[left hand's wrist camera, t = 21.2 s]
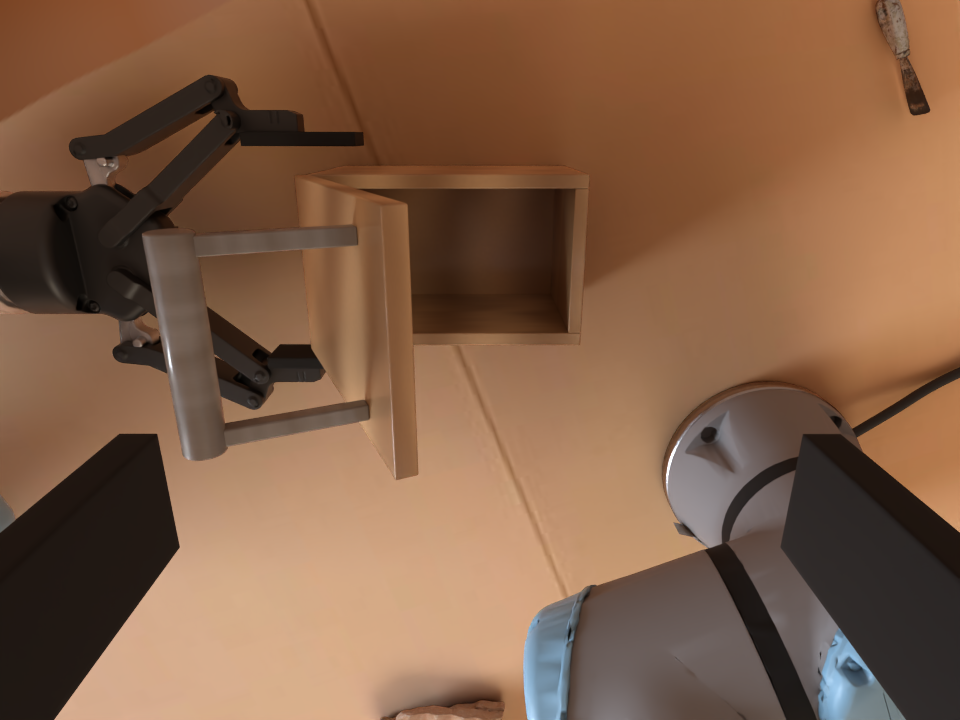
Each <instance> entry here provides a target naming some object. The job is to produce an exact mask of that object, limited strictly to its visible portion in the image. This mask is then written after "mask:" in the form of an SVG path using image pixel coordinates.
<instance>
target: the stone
mask: <svg viewBox="0 0 960 720" xmlns="http://www.w3.org/2000/svg"><path fill="white" fill-rule="evenodd" d="M504 709H505V704H504V702H491V701H486V700H480V701H478V702H476V703H473V704H467V703H466V704H456V705H454V706H452V707H450V708H446V707H441V706H436V705H432V706H426V707H417V708H414V709H412V710H403V711H401V712H400V713H399V714H398V715H397V717H395V718H388V717H381V720H502V717H503V712H504Z"/></svg>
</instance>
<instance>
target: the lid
mask: <svg viewBox="0 0 960 720" xmlns="http://www.w3.org/2000/svg"><path fill="white" fill-rule="evenodd" d="M294 179H295V189H296V199H297V209H298V219H299V227H296V228H279V229H262V230H244V231H227V232H210V233H195V231H194V230H192V229H185V228H171V229H158V230H151V231H146V232H144V233H142V239H143V245H144V250H145V255H146V261H147V266H148V271H149V277H150V282H151V288H152V293H153V298H154V304H155V309H156V314H157V320H158V325H159V331H160V336H161V341H162V347H163V352H164V357H165V363H166V368H167V374H168V379H169V384H170V390H171V395H172V400H173V406H174V411H175V416H176V422H177V427H178V433H179V438H180V443H181V449H182V454H183V456H184V457H185V458H186V459H188V460H192V461H202V460H208V459H212V458H215V457H218V456H220V455H222V454H223V453H225V452H226V451H227V449H228V446H234V445H239V444H244V443H250V442H255V441H260V440H266V439H271V438H276V437H282V436H287V435H292V434H298V433H303V432H308V431H314V430H319V429H324V428H330V427H335V426H340V425H346V424H351V423H356V422H359V423H360V425H361V427H362V428H363V430H364V431H365V433H366V434H367V436H368V438H369V439H370V441H371V442H372V444H373V445H374V447H375V448H376V450H377V452H378V453H379V455H380V456H381V458H382V459H383V461H384V462H385V464H386V466H387V467H388V469H389V470H390V472H391V473H392V475H393V476H394V478H395V479H396V480H399V479H403V478H407V477H412V476H416V475H418V453H417V428H416V403H415V377H414V352H413V327H412V301H411V276H410V250H409V225H408V205H407V204H406V203H403V202H400V201H396V200H393V199H390V198H386V197H383V196H379V195H376V194H373V193H369V192H366V191H363V190H359V189H356V188H352V187H349V186H346V185H342V184H339V183H335V182H332V181H329V180H325V179H322V178H318V177H315V176H312V175H295V176H294ZM291 250H302V260H303V270H304V280H305V290H306V300H307V310H308V320H309V330H310V340H311V349H312V350H313V352H314V353H315V355H316V357H317V358H318V360H319V361H320V363H321V364H322V366H323V367H324V369H325V371H326V372H327V374H328V375H329V377H330V378H331V380H332V381H333V383H334V385H335V386H336V388H337V389H338V391H339V392H340V394H341V395H342V397H343V399H344V400H345V402H346V403H340V404H334V405H328V406H323V407H317V408H311V409H305V410H300V411H294V412H288V413H282V414H276V415H271V416H265V417H259V418H253V419H248V420H242V421H236V422H230V423H225V420H224V414H223V408H222V401H221V395H220V388H219V382H218V376H217V369H216V363H215V357H214V350H213V344H212V337H211V331H210V325H209V318H208V312H207V305H206V299H205V293H204V286H203V280H202V274H201V267H200V261H199V257H208V256H222V255H236V254H250V253H263V252H277V251H291Z"/></svg>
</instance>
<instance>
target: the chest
mask: <svg viewBox="0 0 960 720" xmlns="http://www.w3.org/2000/svg"><path fill="white" fill-rule="evenodd" d="M307 175H312V176H315V177H318V178H322V179H325V180H329V181H332V182H335V183H339V184H342V185H346V186H349V187H352V188H356V189H359V190H363V191H366V192H369V193H373V194H376V195H379V196H383V197H386V198H390V199H393V200H396V201H400V202H403V203H406V204H407V205H408V225H409V250H410V276H411V301H412V327H413V345H580V336H581V334H580V332H581V320H582V302H583V285H584V268H585V251H586V234H587V216H588V199H589V189H588V188H589V180H590V175H589V174H586V173H583V172H580V171H578V170H575V169H572V168H569V167H567V166H342V167H337V168H333V169H329V170H324V171H320V172H316V173H311V174H307Z"/></svg>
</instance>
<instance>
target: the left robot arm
mask: <svg viewBox="0 0 960 720" xmlns="http://www.w3.org/2000/svg"><path fill="white" fill-rule="evenodd" d="M958 378H960V367H959V368H957V369H955V370H953V371H951V372H948V373H946V374H944V375H942V376H940V377H938V378H936V379H935V380H933V381H931V382H929V383H927V384H925V385H924V386H922V387H920V388H919V389H917V390H915V391H914V392H912V393H911V394H909V395H907V396H906V397H904V398H903V399H901V400H900V401H898V402H897V403H895V404H893V405H892V406H890V407H888V408H887V409H885V410H883V411H882V412H880V413H878V414H877V415H875V416H873V417H872V418H870V419H868V420H867V421H865V422H863V423H861V424H860V425H858V426H856V427H855V428H853V429H852V428H851V427H850V425H849V424H848V423H847V421H846V420H845V419H844V417H843V416H842V415H841V414H840V413H839V412H838V411H837V410H836V409H835V408H834V407H833V406H832V405H830V404H829V403H828V402H826V401H825V400H824V399H823V398H821V397H820V396H818V395H817V394H815V393H814V392H812V391H810V390H808V389H805V388H803V387H800V386H797V385H794V384H789V383H784V382H772V381H766V382H754V383H748V384H744V385H740V386H736V387H733V388H730V389H728V390H725V391H723V392H721V393H719V394H717V395H715V396H713V397H711V398H710V399H708V400H707V401H705V402H704V403H702V404H701V405H700V406H698V407H697V408H696V409H695V410H694V411H693V412H691V413H690V414H689V415H688V416H687V418H686V419H685V420H684V421H683V422H682V423H681V425H680V426H679V427H678V429H677V430H676V432H675V433H674V435H673V437H672V439H671V441H670V443H669V445H668V448H667V450H666V453H665V457H664V462H663V469H662V480H663V487H664V492H665V495H666V498H667V500H668V503H669V505H670V507H671V509H672V511H673V513H674V514H675V516H676V518H677V519H678V521H679V522H680V523H681V524H678V523H674V524H675V526H676V528H677V530H678V532H679V534H682V535H686V536H691V537H693V538H695V539H696V540H697V541H698V542H700V543H701V544H703V545H704V546H706V547H707V548H708V549H704V550H701V551H698V552H695V553H692V554H689V555H686V556H683V557H681V558H678V559H675V560H672V561H669V562H666V563H663V564H661V565H658V566H655V567H652V568H649V569H646V570H643V571H640V572H638V573H635V574H632V575H629V576H626V577H622V578H619V579H616V580H613V581H610V582H607V583H604V584H601V585H598V586H597V585H590V586H587V587H585V588H584V589H583V590H582V591H581V592H579V593H577V594H575V595H572V596H570V597H568V598H565V599H563V600H561V601H558V602H555V603H553V604H550V605H548V606H546V607H544V608H543V609H542V610H541V611H539V612H538V613H537V615H536V616H535V617H534V619H533V620H532V623H531V625H530V627H529V630H528V634H527V639H526V641H525V649H524V665H523V673H524V694H525V704H526V712H527V720H960V533H959V532H958V531H957V530H956V529H955V528H953V527H952V526H951V525H950V524H949V523H947V522H946V521H945V520H944V519H943V518H941V517H940V516H939V515H938V514H937V513H935V512H934V511H933V510H932V509H931V508H929V507H928V506H927V505H926V504H925V503H923V502H922V501H921V500H920V499H918V498H917V497H916V496H915V495H914V494H912V493H911V492H910V491H909V490H908V489H906V488H905V487H904V486H903V485H902V484H900V483H899V482H898V481H897V480H896V479H894V478H893V477H892V476H891V475H890V474H888V473H887V472H886V471H885V470H883V469H882V468H881V467H880V466H879V465H877V464H876V463H875V462H874V461H873V460H871V459H870V458H869V457H868V456H867V455H865V454H864V453H863V451H862V449H861V447H860V444H859V442H858V440H857V437H858V436H860V435H862V434H864V433H865V432H867V431H869V430H870V429H872V428H874V427H875V426H877V425H879V424H881V423H882V422H884V421H886V420H887V419H889V418H891V417H892V416H894V415H896V414H897V413H899V412H901V411H902V410H904V409H905V408H907V407H908V406H910V405H912V404H913V403H915V402H916V401H918V400H919V399H921V398H922V397H924V396H926V395H927V394H929V393H931V392H933V391H934V390H936V389H938V388H940V387H942V386H944V385H946V384H948V383H950V382H952V381H954V380H956V379H958ZM179 548H180V546H179V541H178V536H177V531H176V526H175V521H174V516H173V511H172V506H171V501H170V496H169V491H168V486H167V481H166V476H165V471H164V466H163V461H162V456H161V451H160V446H159V441H158V436H157V434H119V435H118V436H116V437H115V438H114V439H113V440H111V441H110V442H109V443H108V444H107V445H105V446H104V447H103V448H102V449H101V450H99V451H98V452H97V453H96V454H95V455H93V456H92V457H91V458H90V459H89V460H87V461H86V462H85V463H84V464H83V465H81V466H80V467H79V468H78V469H77V470H75V471H74V472H73V473H72V474H70V475H69V476H68V477H67V478H66V479H64V480H63V481H62V482H61V483H60V484H58V485H57V486H56V487H55V488H54V489H52V490H51V491H50V492H49V493H48V494H46V495H45V496H44V497H43V498H42V499H40V500H39V501H38V502H37V503H35V504H34V505H33V506H32V507H31V508H29V509H28V510H27V511H26V512H25V513H23V514H22V515H21V516H20V517H19V518H17V519H16V520H15V521H14V522H13V523H11V524H10V525H9V526H8V527H7V528H5V529H4V530H3V531H2V532H1V533H0V720H54V719H55V718H56V716H57V715H58V714H59V712H60V711H61V710H62V708H63V707H64V705H65V704H66V703H67V701H68V700H69V699H70V697H71V696H72V694H73V693H74V692H75V690H76V689H77V688H78V686H79V685H80V683H81V682H82V681H83V679H84V678H85V677H86V675H87V674H88V672H89V671H90V670H91V668H92V667H93V666H94V664H95V663H96V662H97V660H98V659H99V657H100V656H101V655H102V653H103V652H104V651H105V649H106V648H107V646H108V645H109V644H110V642H111V641H112V640H113V638H114V637H115V635H116V634H117V633H118V631H119V630H120V629H121V627H122V626H123V624H124V623H125V622H126V620H127V619H128V618H129V616H130V615H131V613H132V612H133V611H134V609H135V608H136V607H137V605H138V604H139V602H140V601H141V600H142V598H143V597H144V596H145V594H146V593H147V591H148V590H149V589H150V587H151V586H152V585H153V583H154V582H155V581H156V579H157V578H158V576H159V575H160V574H161V572H162V571H163V570H164V568H165V567H166V565H167V564H168V563H169V561H170V560H171V559H172V557H173V556H174V554H175V553H176V552H177V550H178V549H179Z"/></svg>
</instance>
